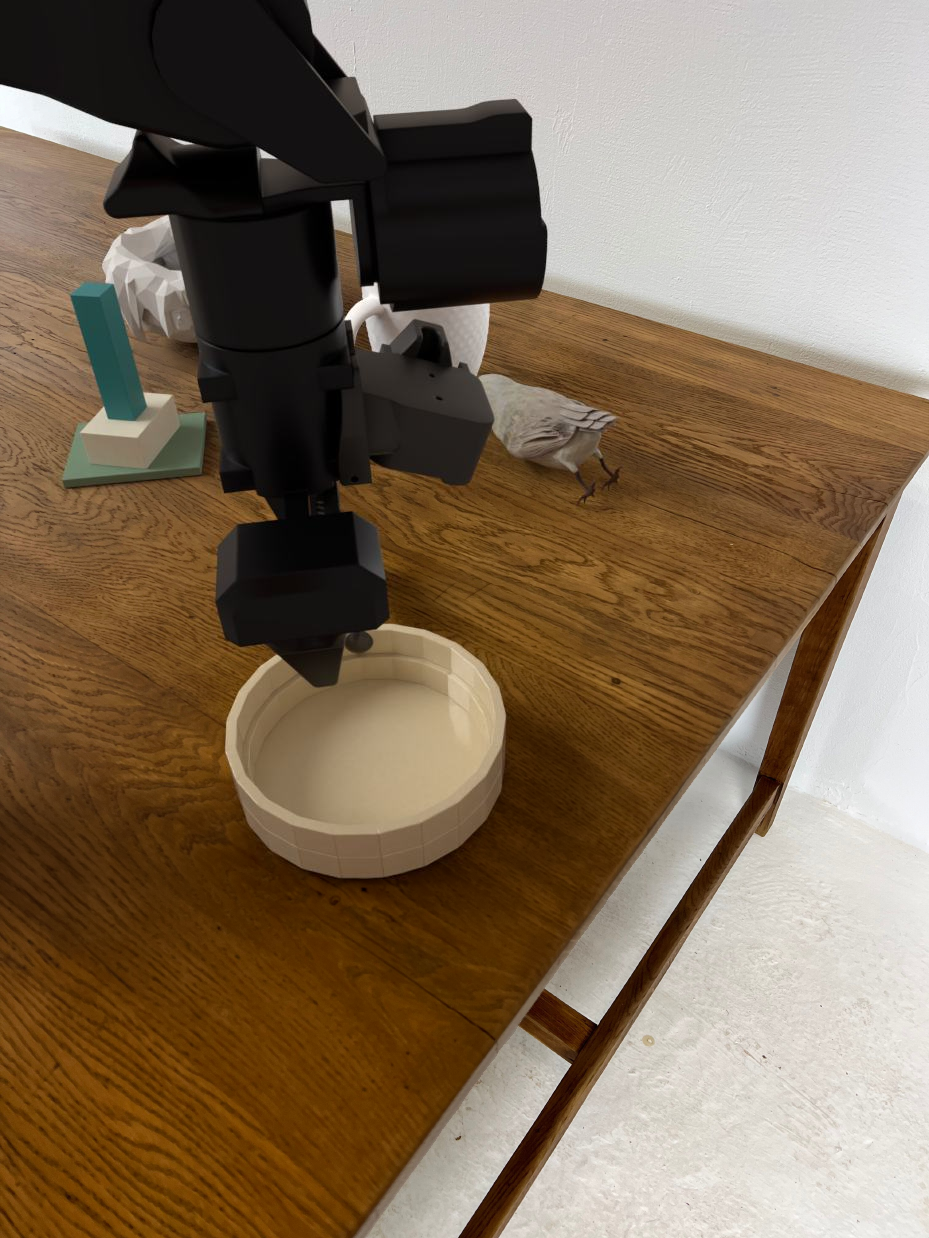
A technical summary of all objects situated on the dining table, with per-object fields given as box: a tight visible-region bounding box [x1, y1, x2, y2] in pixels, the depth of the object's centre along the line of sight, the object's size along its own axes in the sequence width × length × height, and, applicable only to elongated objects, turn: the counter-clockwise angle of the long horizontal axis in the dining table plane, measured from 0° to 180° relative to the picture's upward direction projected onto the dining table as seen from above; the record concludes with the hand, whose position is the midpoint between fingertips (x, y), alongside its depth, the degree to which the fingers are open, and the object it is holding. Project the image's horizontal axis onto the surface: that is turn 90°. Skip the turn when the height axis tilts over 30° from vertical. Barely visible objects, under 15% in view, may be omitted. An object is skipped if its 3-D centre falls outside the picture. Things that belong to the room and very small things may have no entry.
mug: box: [344, 283, 491, 377], centre depth 82 cm, size 15×11×13 cm
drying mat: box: [61, 411, 208, 489], centre depth 80 cm, size 11×9×1 cm
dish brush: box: [69, 281, 180, 469], centre depth 75 cm, size 7×5×14 cm
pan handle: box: [345, 631, 373, 654], centre depth 62 cm, size 2×12×5 cm, turn 9°
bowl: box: [101, 215, 198, 345], centre depth 94 cm, size 21×20×10 cm
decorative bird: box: [478, 373, 624, 507], centre depth 75 cm, size 5×16×8 cm, turn 41°
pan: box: [224, 623, 507, 879], centre depth 53 cm, size 15×15×4 cm
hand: (320, 618), depth 46 cm, fingers open, 9 cm apart
